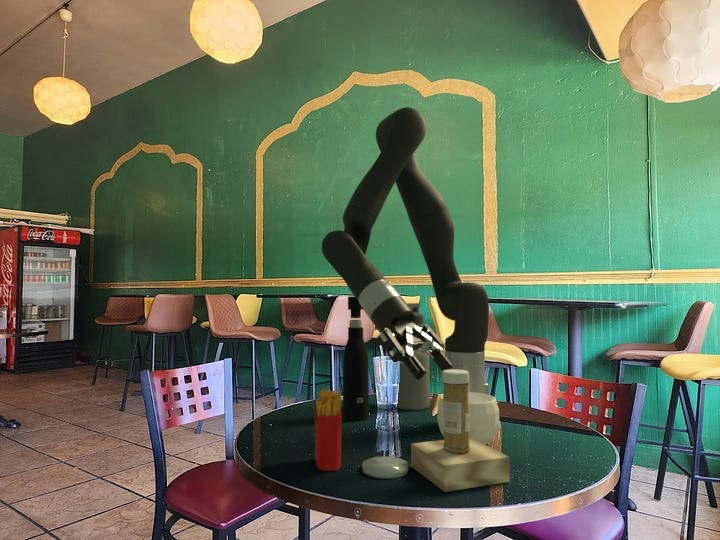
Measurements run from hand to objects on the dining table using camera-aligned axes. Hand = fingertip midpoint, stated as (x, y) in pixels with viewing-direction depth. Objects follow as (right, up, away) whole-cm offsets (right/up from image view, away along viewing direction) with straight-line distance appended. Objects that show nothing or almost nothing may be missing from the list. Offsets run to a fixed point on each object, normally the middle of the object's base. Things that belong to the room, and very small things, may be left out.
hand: (436, 373), depth 88 cm
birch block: (+3, -16, -4) cm, 17 cm away
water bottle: (0, -19, +46) cm, 50 cm away
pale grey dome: (-9, -17, -2) cm, 19 cm away
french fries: (-19, -17, +1) cm, 26 cm away
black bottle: (-15, -18, +34) cm, 42 cm away
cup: (+8, -17, +12) cm, 22 cm away
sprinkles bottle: (+3, -13, -4) cm, 13 cm away
